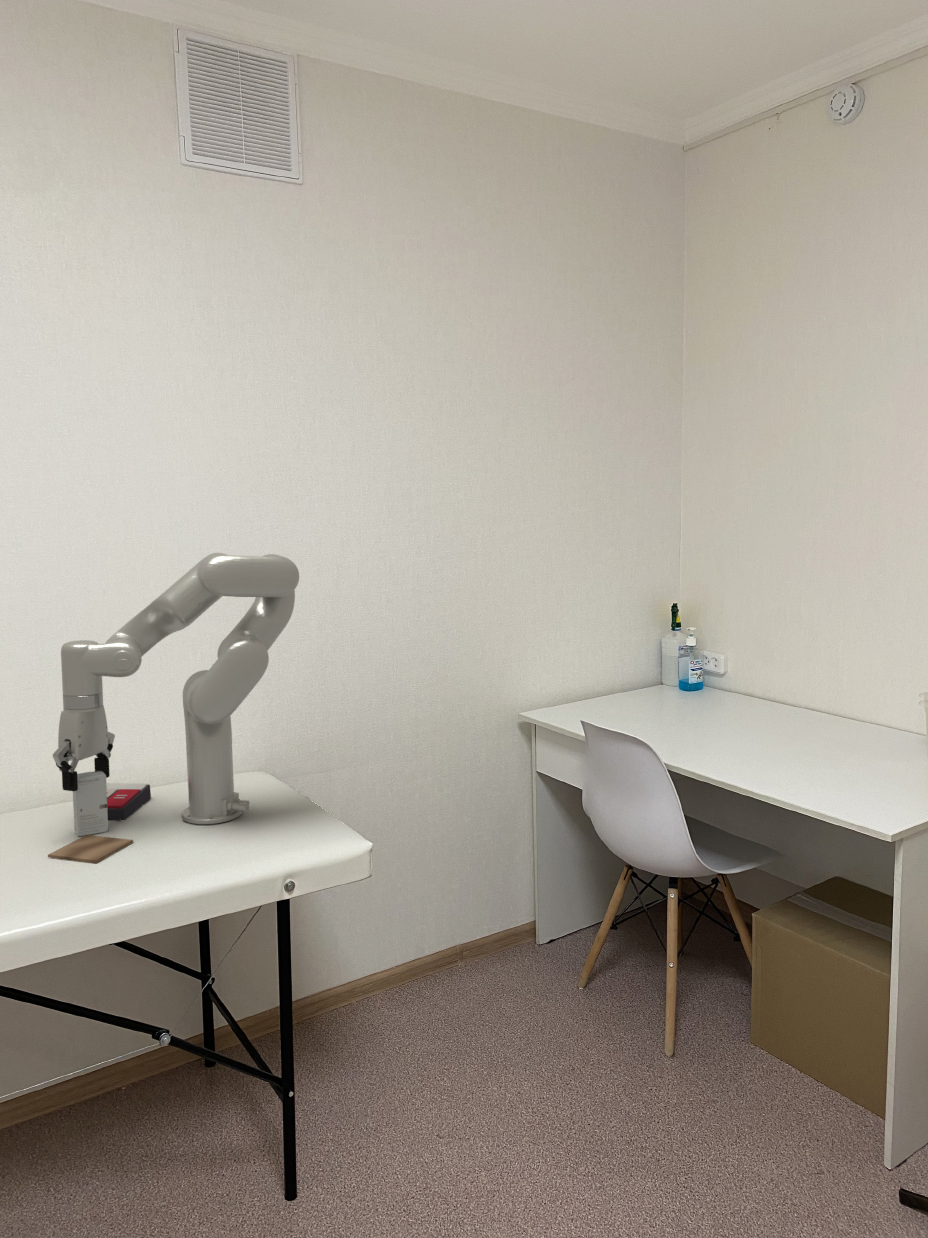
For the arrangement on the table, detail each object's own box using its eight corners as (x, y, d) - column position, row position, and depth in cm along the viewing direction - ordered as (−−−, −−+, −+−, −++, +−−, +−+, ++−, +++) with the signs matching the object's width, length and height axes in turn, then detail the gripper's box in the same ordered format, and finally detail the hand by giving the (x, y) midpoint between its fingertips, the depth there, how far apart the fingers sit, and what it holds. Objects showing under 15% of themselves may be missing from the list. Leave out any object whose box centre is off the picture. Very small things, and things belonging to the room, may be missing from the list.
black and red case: (72, 805, 196) (103, 780, 211) (74, 824, 197) (105, 798, 212) (122, 806, 195) (150, 781, 210) (124, 825, 196) (151, 799, 211)
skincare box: (78, 837, 186) (74, 779, 185) (73, 831, 190) (70, 774, 188) (110, 831, 190) (106, 774, 188) (105, 825, 193) (101, 769, 192)
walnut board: (133, 842, 183) (133, 840, 183) (96, 863, 172) (96, 860, 172) (86, 837, 186) (86, 834, 186) (48, 857, 176) (47, 854, 176)
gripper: (95, 692, 196) (99, 770, 198) (37, 709, 179) (41, 794, 181) (126, 694, 194) (128, 773, 196) (69, 711, 177) (73, 797, 179)
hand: (86, 783), depth 188 cm, fingers open, 9 cm apart
